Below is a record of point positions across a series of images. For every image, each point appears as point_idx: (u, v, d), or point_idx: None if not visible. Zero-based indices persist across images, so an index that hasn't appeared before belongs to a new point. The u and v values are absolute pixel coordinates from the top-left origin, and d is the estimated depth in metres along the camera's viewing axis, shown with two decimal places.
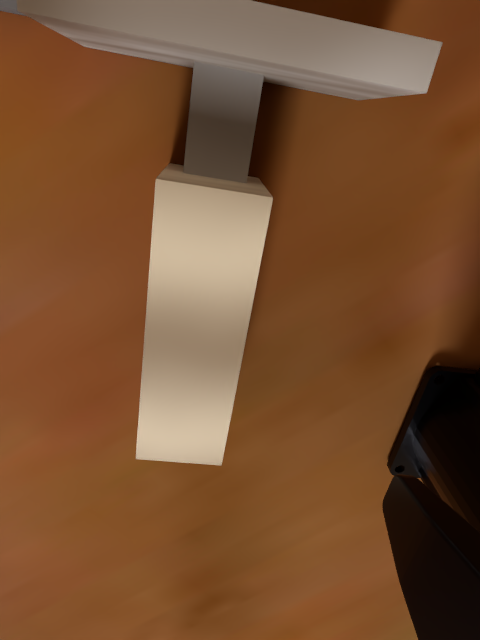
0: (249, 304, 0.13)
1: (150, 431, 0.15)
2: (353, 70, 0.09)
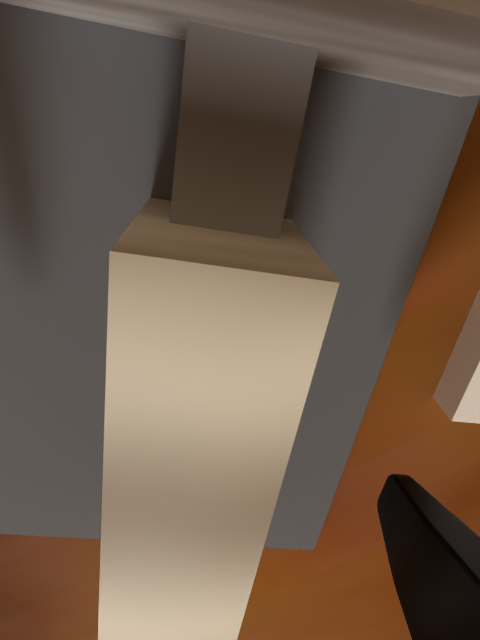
0: (284, 454, 0.07)
1: (118, 624, 0.09)
2: None
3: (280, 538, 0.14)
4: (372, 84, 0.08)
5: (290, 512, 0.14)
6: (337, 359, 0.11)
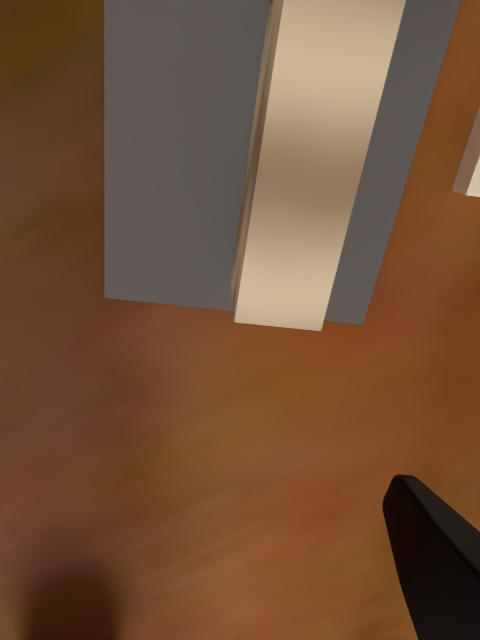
0: (369, 130, 0.12)
1: (252, 288, 0.14)
2: None
3: (338, 311, 0.19)
4: None
5: (347, 285, 0.19)
6: (385, 142, 0.16)
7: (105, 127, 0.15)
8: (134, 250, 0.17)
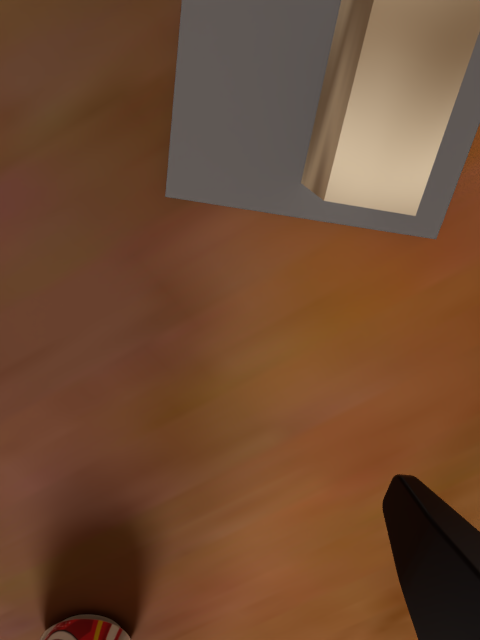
0: None
1: (348, 159, 0.13)
2: None
3: (411, 223, 0.18)
4: None
5: (424, 192, 0.18)
6: None
7: None
8: (202, 141, 0.16)
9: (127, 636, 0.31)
